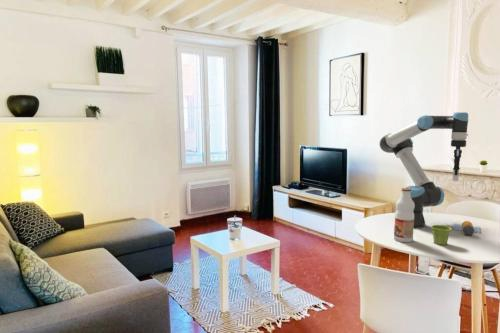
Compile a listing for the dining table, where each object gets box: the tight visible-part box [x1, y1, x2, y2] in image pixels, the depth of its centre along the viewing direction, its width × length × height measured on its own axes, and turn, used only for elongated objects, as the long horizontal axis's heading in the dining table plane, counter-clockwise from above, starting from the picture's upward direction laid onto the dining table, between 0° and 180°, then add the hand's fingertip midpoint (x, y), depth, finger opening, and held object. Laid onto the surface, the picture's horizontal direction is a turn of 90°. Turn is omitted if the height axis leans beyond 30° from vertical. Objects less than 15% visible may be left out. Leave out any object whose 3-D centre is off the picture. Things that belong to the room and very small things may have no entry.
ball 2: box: [462, 225, 474, 236], centre depth 208 cm, size 6×6×6 cm
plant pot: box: [431, 224, 452, 246], centre depth 193 cm, size 9×9×9 cm
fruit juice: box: [393, 187, 415, 243], centre depth 197 cm, size 9×9×28 cm
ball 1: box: [461, 220, 474, 228], centre depth 217 cm, size 6×6×6 cm
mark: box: [452, 223, 482, 234], centre depth 221 cm, size 14×14×1 cm
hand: (455, 180), depth 214 cm, fingers closed
